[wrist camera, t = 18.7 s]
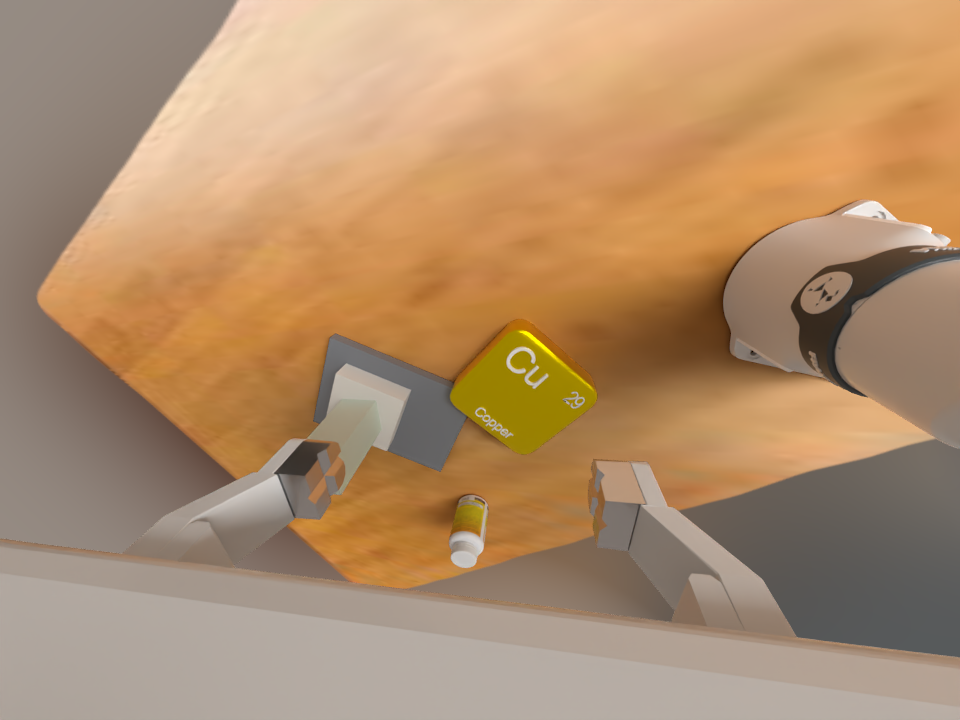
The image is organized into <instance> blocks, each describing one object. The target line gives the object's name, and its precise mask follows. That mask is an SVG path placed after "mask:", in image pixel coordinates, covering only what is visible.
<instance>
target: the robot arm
mask: <svg viewBox="0 0 960 720" xmlns="http://www.w3.org/2000/svg"><path fill="white" fill-rule="evenodd" d="M931 231H932V228H930V227H928V226H925V225H921V224H915V223H908V222H901V221H898V220H897V219H896V218H895V217H894V216H893V215H892V214H891V213H890V212H888V211H887V210H886V209H885V208H884V207H883V206H882V205H881V204H880V203H878V202H876V201H872V200H859V201H856V202H854V203H852V204H849V205H847V206H845V207H843V208H842V209H840V210H838V211H836V212H834V213H832V214H830V215H827V216H822V217H817V218H812V219H806V220H802V221H798V222H795V223H792V224H789V225H787V226H784V227H782V228H780V229H778V230H776V231H774V232H773V233H771V234H769V235H768V236H766V237H765V238H763V239H762V240H760V241H759V242H758V243H757V244H755V245H754V246H753V247H752V248H751V249H750V250H749V251H748V252H747V253H746V254H745V255H744V256H743V257H742V259H741V260H740V261H739V262H738V264H737V265H736V267H735V268H734V270H733V272H732V273H731V275H730V277H729V279H728V282H727V285H726V288H725V292H724V298H723V309H724V314H725V318H726V320H727V323H728V325H729V327H730V330H731V338H730V352H731V354H732V355H733V356H735V357H737V358H739V359H742V360H746V361H751V362H755V363H760V364H764V365H769V366H773V367H777V368H781V369H783V370H785V371H787V372H792V371H795V372H800V373H804V374H809V375H813V376H818V377H822V378H825V379H826V380H828V381H829V382H831V383H833V384H834V385H836V386H840V387H841V388H843V389H846V390H848V391H850V392H851V393H854V394H857V395H860V396H864V397H869V398H871V399H872V400H874V401H876V402H877V403H879V404H881V405H882V406H884V407H885V408H887V409H889V410H890V411H892V412H894V413H895V414H897V415H899V416H900V417H902V418H904V419H905V420H907V421H908V422H910V423H912V424H913V425H915V426H917V427H918V428H920V429H922V430H923V431H925V432H927V433H928V434H930V435H931V436H933V437H935V438H936V439H938V440H939V441H941V442H943V443H946V444H947V445H950V446H953V447H955V448H958V449H960V248H956V247H946V245H947V244H948V243H950V241H951V240H950V239H949V238H948V237H946V236H943V235H941V234H936V233H934V234H931ZM752 350H753V351H754V352H753V353H750V352H751V351H752ZM340 452H341V449H340V446H339V443H337V442H334V441H323V440H312V439H298V438H293V439H290V440H289V441H288V442H287V443H286V444H285V445H284V446H283V447H282V448H281V449H280V450H279V451H278V452H277V453H276V454H275V455H274V456H273V457H272V458H271V459H270V460H269V461H268V462H267V463H266V464H265V465H264V466H263V467H262V468H261V469H260V470H259V471H258V472H257V473H251V474H249V475H246V476H244V477H242V478H240V479H238V480H236V481H234V482H232V483H230V484H228V485H226V486H224V487H222V488H220V489H218V490H216V491H214V492H212V493H210V494H208V495H206V496H204V497H202V498H200V499H198V500H196V501H194V502H192V503H190V504H188V505H186V506H184V507H181V508H179V509H178V510H175V511H173V512H172V513H169V514H167V515H166V516H164V517H163V518H161V519H160V520H159V521H158V522H157V523H156V524H155V525H154V526H152V527H151V528H150V529H149V530H148V531H147V532H146V533H145V534H143V536H141V537H140V538H139V539H138V540H137V541H136V542H134V543H133V544H132V545H131V546H130V547H129V548H128V549H127V550H125V551H124V552H123V553H122V554H119V553H110V552H102V551H93V550H86V549H78V548H70V547H62V546H54V545H46V544H38V543H29V542H22V541H15V540H9V539H0V720H960V658H959V657H950V656H942V655H934V654H925V653H918V652H909V651H901V650H893V649H884V648H876V647H869V646H861V645H852V644H844V643H836V642H828V641H820V640H811V639H804V638H797V637H796V636H795V633H794V632H793V630H792V628H791V627H790V625H789V623H788V622H787V620H786V618H785V617H784V615H783V613H782V612H781V610H780V609H779V607H778V605H777V603H776V602H775V600H774V598H773V596H772V595H771V593H770V591H769V590H768V588H767V586H766V585H765V583H764V581H763V580H762V579H761V578H760V577H759V576H757V575H756V574H755V573H754V572H752V571H751V570H750V569H749V568H748V567H746V566H745V565H744V564H743V563H741V562H740V561H739V560H738V559H737V558H735V557H734V556H733V555H732V554H730V553H729V552H728V551H727V550H725V549H724V548H723V547H722V546H720V545H719V544H718V543H717V542H715V541H714V540H713V539H712V538H711V537H709V536H708V535H707V534H706V533H704V532H703V531H702V530H700V528H698V527H697V526H696V525H695V524H693V523H692V522H691V521H689V520H688V519H687V518H686V517H685V516H683V515H682V514H681V513H680V512H679V511H677V510H676V509H675V508H674V507H668V506H667V504H666V501H665V499H664V497H663V495H662V492H661V490H660V488H659V486H658V483H657V481H656V479H655V477H654V474H653V472H652V470H651V468H650V465H649V464H648V463H647V462H639V461H617V460H600V459H593V462H592V466H591V472H592V477H593V478H591V479H590V480H589V486H588V502H589V509H590V513H591V514H592V515H593V516H594V521H593V531H594V536H595V541H596V546H597V547H599V548H607V549H614V550H623V551H629V552H628V553H629V554H630V556H631V557H632V558H633V559H634V561H635V562H636V563H637V564H638V565H639V567H640V568H641V569H642V571H643V572H644V573H645V574H646V576H647V577H648V578H649V579H650V581H651V582H652V583H653V584H654V586H655V587H656V588H657V589H658V591H659V592H660V593H661V595H662V596H663V597H664V598H665V600H666V601H667V602H668V603H669V604H670V606H671V607H672V608H673V610H674V611H675V613H674V615H673V618H672V620H671V622H667V621H658V620H650V619H643V618H635V617H627V616H619V615H611V614H603V613H595V612H587V611H578V610H570V609H562V608H554V607H546V606H538V605H530V604H521V603H513V602H505V601H497V600H489V599H480V598H473V597H464V596H456V595H448V594H440V593H432V592H423V591H416V590H408V589H400V588H392V587H384V586H376V585H368V584H360V583H352V582H344V581H336V580H327V579H320V578H312V577H304V576H295V575H287V574H280V573H271V572H264V571H255V570H247V569H239V568H235V567H234V565H235V564H237V563H238V562H239V561H240V560H242V559H243V558H244V557H246V556H247V555H248V554H250V553H251V552H252V551H253V550H255V549H256V548H257V547H259V546H260V545H261V544H263V543H264V542H265V541H266V540H268V539H269V538H271V537H272V536H273V535H274V534H276V533H277V532H278V531H280V530H281V529H282V528H283V527H285V526H286V525H288V524H289V523H290V522H292V521H293V520H294V518H305V519H319V520H320V519H321V517H322V516H323V514H324V513H325V511H326V509H327V508H328V506H329V505H330V503H331V497H330V496H331V495H333V494H334V493H336V492H337V491H339V489H340V487H341V486H342V484H343V481H344V478H345V464H344V461H343V460H342V459H341V458H340V457H339V456H338V455H339V454H340Z"/></svg>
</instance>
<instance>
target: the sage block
mask: <svg viewBox="0 0 960 720" xmlns="http://www.w3.org/2000/svg"><path fill="white" fill-rule="evenodd" d="M381 430H382V428H381V423H380V418H379V413H378V408H377V403H376V401H375V400H356V399H342V400H341V401H340V402H339V403H338V404H337V405H336V406H335V408H334V409H333V410H332V411H331V412H330V413H329V414H328V415H327V416H326V418H325V419H324V420H323V421H322V422H321V423H320V424H319V425H318V426H317V428H316V429H315V430H314V431H313V432H312V433H311V434H310V435H309V436H308V438H307V439H312V440H323V441H334V442H337V443H339V446H340V449H341V452H340V454H339V455H338V456H339V457H340V458H341V459H342V460H343V461H344V464H345V478H344V481H343V484H342V486H341V487H340V489H339V491H337V492H336V493H334V494H336V495H341V494H342V493H343V491H344V490H345V488H346V486H347V485H348V483H349V481H350V480H351V478H352V477H353V475H354V473H355V472H356V470H357V469H358V467H359V465H360V464H361V462H362V461H363V459H364V457H365V456H366V454H367V452H368V451H369V449H370V448H371V446H372V444H373V443H374V441H375V440H376V438H377V436H378V435H379V433H380V431H381Z"/></svg>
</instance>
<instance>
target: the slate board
mask: <svg viewBox="0 0 960 720" xmlns="http://www.w3.org/2000/svg"><path fill="white" fill-rule="evenodd" d="M453 385H454V383H453V382H451V381H448V380H446V379H444V378H441V377H439V376H436V375H434V374H432V373H429V372H427V371H424V370H422V369H420V368H417V367H415V366H412V365H410V364H408V363H405V362H403V361H400V360H398V359H396V358H393V357H391V356H388V355H386V354H383V353H381V352H379V351H376V350H374V349H371V348H369V347H367V346H364V345H362V344H359V343H357V342H355V341H352V340H350V339H347V338H345V337H343V336H340V335H338V334H334V335H333V336H332V337H330V340H329V345H328V350H327V355H326V360H325V365H324V370H323V375H322V380H321V385H320V390H319V395H318V400H317V405H316V410H315V415H314V420H313V421H314V422H316V423H319V424H320V423H321V422H322V421H323V420H324V419H325V418H326V416H327V415H328V414H329V413H330V412H331V411H332V410H333V409H334V408H335V406H336V405H337V404H338V403H339V402H340V401H341V400H342V399H356V400H375V401H376V403H377V408H378V413H379V418H380V423H381V428H382V430H381V431H380V433H379V435H378V436H377V438H376V440H375V441H374V443H373V444H372V446H374V447H377V448H380V449H382V450H385V451H389V452H392V453H394V454H397V455H399V456H402V457H404V458H407V459H409V460H412V461H414V462H417V463H419V464H422V465H424V466H427V467H429V468H432V469H434V470H437V471H439V472H441V470H442V467H443V465H444V463H445V461H446V459H447V457H448V455H449V453H450V451H451V449H452V447H453V445H454V442H455V440H456V438H457V436H458V434H459V432H460V430H461V428H462V426H463V424H464V422H465V420H466V418H467V416H466V415H465V414H464V413H462V412H461V411H460V410H459V409H457V408H456V407H455V406H454V405H453V404H452V402H451V400H450V393H451V390H452V388H453Z"/></svg>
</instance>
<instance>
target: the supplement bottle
mask: <svg viewBox="0 0 960 720" xmlns="http://www.w3.org/2000/svg"><path fill="white" fill-rule="evenodd" d="M487 518H488V504H487V502H486V501H485V500H484V499H483V498H481V497H479V496H476V495H466V496H464V497H462V498H461V499H460V500H459V501H458V504H457V508H456V513H455V517H454V522H453V526H452V530H451V535H450V539H449V546H450V548H451V550H452V553H451V560H452V562H453V563H454V564H455V565H457V566H459V567H463V568H469V567H472V566H474V565H475V564H476V561H477V556H478V555H479V554H480V553H481V552H482V551H483V548H484V541H485V533H486V526H487Z"/></svg>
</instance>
